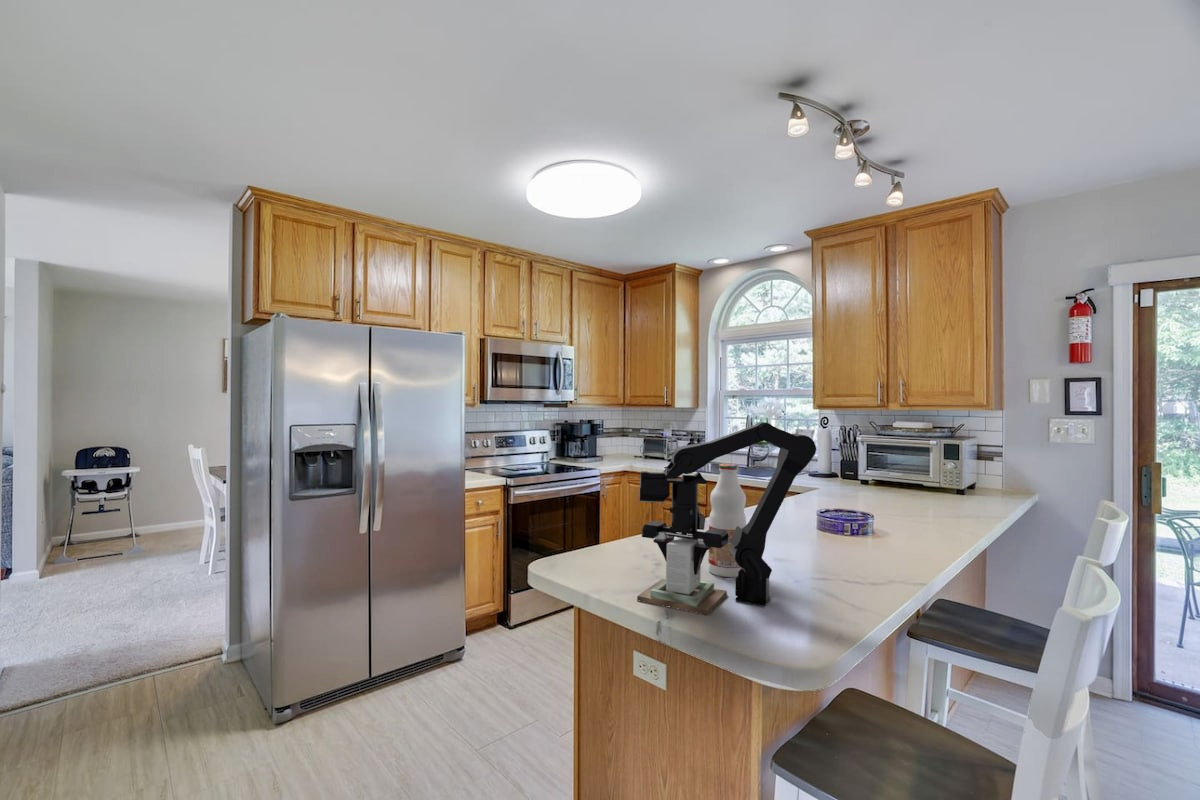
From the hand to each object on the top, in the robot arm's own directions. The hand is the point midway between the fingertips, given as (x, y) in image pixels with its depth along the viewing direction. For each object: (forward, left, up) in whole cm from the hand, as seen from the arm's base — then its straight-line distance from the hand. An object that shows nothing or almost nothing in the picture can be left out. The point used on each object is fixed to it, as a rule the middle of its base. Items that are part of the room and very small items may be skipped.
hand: (683, 572), depth 125 cm
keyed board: (0, 0, -6) cm, 6 cm away
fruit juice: (-3, -24, -6) cm, 25 cm away
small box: (0, 0, -4) cm, 4 cm away
